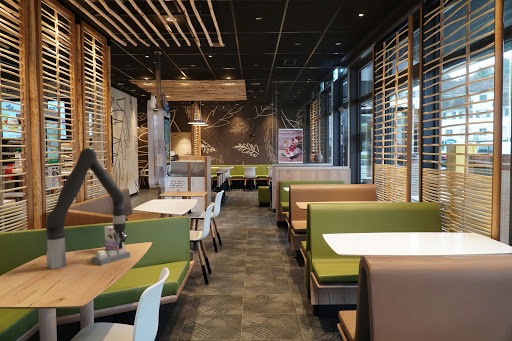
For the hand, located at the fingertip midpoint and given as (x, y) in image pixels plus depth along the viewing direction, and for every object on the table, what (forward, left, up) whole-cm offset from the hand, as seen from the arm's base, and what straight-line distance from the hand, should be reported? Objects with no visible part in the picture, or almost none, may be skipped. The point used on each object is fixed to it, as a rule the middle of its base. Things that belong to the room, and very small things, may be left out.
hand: (120, 248), depth 229 cm
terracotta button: (0, 0, -2) cm, 2 cm away
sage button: (-7, 0, -2) cm, 7 cm away
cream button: (-13, 0, -1) cm, 13 cm away
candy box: (+7, +19, -6) cm, 21 cm away
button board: (-7, 0, -6) cm, 9 cm away
